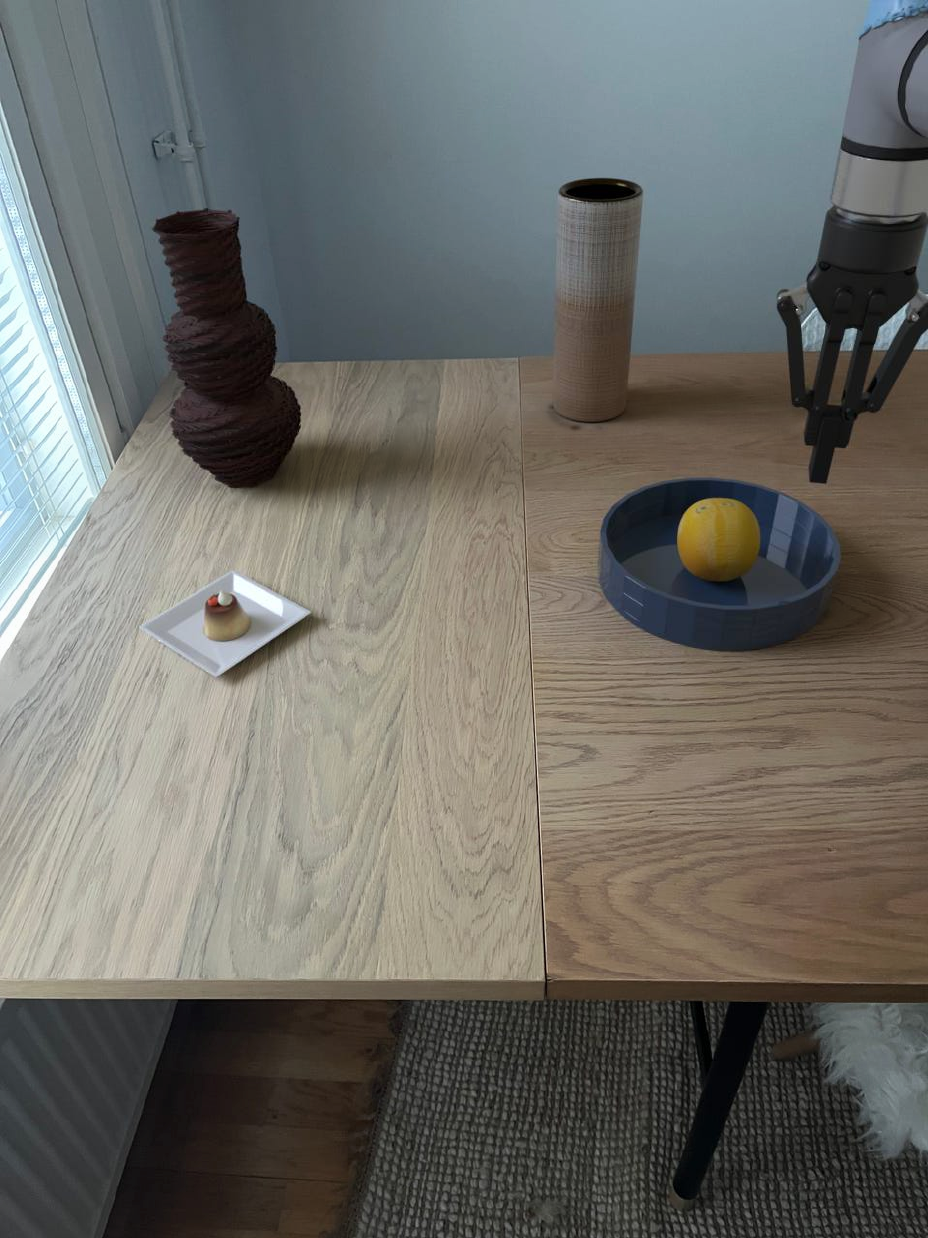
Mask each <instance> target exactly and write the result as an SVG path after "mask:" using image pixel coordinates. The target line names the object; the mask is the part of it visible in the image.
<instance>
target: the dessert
mask: <svg viewBox="0 0 928 1238" xmlns="http://www.w3.org/2000/svg"><path fill="white" fill-rule="evenodd" d="M311 612H312V611H310V610H309V609H307V608H305V607H303V606H301V605H299V604H298V603H297V602H294V601H292V600H290V599H289V598H287V597H285V596H284V595H281V594H279V593H278V592H276V591H275V590H272V589H270V588H268V587H266V586H265V585H263V584H261V583H259V582H258V581H255V580H254V579H252V578H250V577H248V576H246V575H244V574H242V573H241V572H239V571H237V570H235V569H232V570H230V571H228V572H226V573H225V574H223V575H221V576H220V577H218V578H216V579H214V580H213V581H212V582H210V583H209V584H207V585H205V586H203V587H202V588H200V589H198V590H196V591H195V592H194V593H192V594H190V595H189V596H187V597H185V598H184V599H182V600H181V601H178V602H177V603H175V604H174V605H172V606H171V607H169V608H167V609H166V610H164V611H162V612H161V613H159V614H158V615H155V616H154V617H153V618H151V619H149V620H147V621H146V622H144V623H143V624H141V625H140V626H138V628H139V629H140V630H141V631H143V632H144V633H146V634H148V635H149V636H151V637H152V638H154V639H156V640H157V641H159V642H161V644H163V645H164V646H166V647H168V648H169V649H171V650H173V651H174V652H176V653H178V655H180V656H181V657H183V658H185V659H187V660H188V661H189V662H191V663H193V664H195V665H196V667H197V666H198V667H199V668H200V669H202V670H204V671H205V672H207V673H208V674H210V675H211V676H213V677H214V678H217V677H219V676H221V675H222V674H224V673H225V672H227V671H228V670H230V669H231V668H233V667H235V666H236V665H237V664H238V663H240V662H242V661H243V660H244V659H246V658H248V657H249V656H251V655H252V654H253V653H255V652H256V651H258V650H259V649H260V648H262V647H263V646H265V645H267V643H270V641H272V640H273V639H275V638H277V637H278V636H280V635H281V634H283V633H284V632H285V631H286V630H288V629H289V628H292V627H293V626H294V625H296V624H297V623H298V622H300V621H301V620H303V619H304V618H306V617H307V616H308V615H310V614H311Z"/></svg>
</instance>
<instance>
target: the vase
mask: <svg viewBox="0 0 928 1238" xmlns="http://www.w3.org/2000/svg"><path fill="white" fill-rule="evenodd" d="M239 228H240V217H239V216H237V215H236V214H235V213H233V212H232V210H231V209H228V210H227V209H226V210H217V209H209V208H208V207H205V208H204V207H203V209H198V210H197V209H196V210H187V211H179V210H178V211H176V212H175V213H173V214H170V215H167V216H163V217H162V218H159V219H158V218H155V223H154V226H153V227H151V230H152V231H153V232H154V233H156V234H158V235H159V239H157V240H158V243H159V244H160V245H161V246H162V247H163V248H162V251H161V252H162V255H163V256H164V257H165V260H164V261H163V263H164V264H165V265H166V266H167V268H169V269H170V271H169V276H170V278H172V281H171V282H170V284H171V286H172V287H173V289H175V292H174V293H173V298H175V299H176V301H177V302H176V306H177V307H179V310H178V311H177V312H176V313H173V314H172V315H171V316H170V323H167V325H165V327H164V330H165V331H166V332H165V334H164V335H163V336H162V338H161V339H162V341H163V342H165V343H166V344H165V346H164V350H165V351H166V352H167V353H168V354H167V356H166V359H167V361H169V362H171V363H172V365H171V366H170V367H171V370H173V371H174V372H176V373H177V374H176V377H177V379H179V380H181V381H183V384H182V385H183V387H184V388H183V389H182V390H181V392H180V396H178V398H177V399H174V400H173V403H172V406H173V407H172V408H171V409H170V411H169V412H168V413H169V417H170V418H171V419H172V421H171V422H169V424H170V427H171V432H172V433H171V435H172V437H174V439H176V440H178V441H177V445H178V446H179V447H180V448H181V451H182V452H183V454H184V455H185V456H187V457H189V458H191V459H192V462H194V463H195V464H198V465H199V466H198V467H199V468H201V469H202V470H204V471H208V472H209V473H210V474H211V475H214V480H215V481H216V482H219V483H222V484H224V485H225V486H228V488H240V487H255V486H257V485H260V484H261V483H263V482H266V481H269V480H270V479H271V480H272V479H274V478H275V476H276V474H277V472H278V470H279V468H281V465H282V463H284V461H285V459H286V457H288V454H289V453H290V452H291V451H292V449H293V447H294V443H295V442H296V438H297V437H298V435H299V434H300V430H301V428H302V424H301V422H302V418H301V417H302V411H301V410H302V406H301V405H300V404H299V400H298V398H297V397H296V392H295V390H294V389H293V388H292V387H291V386H290V385H289V384H288V383H287V382H286V381H284V380H282V379H280V378H278V377H276V376H272V373H273V371H274V369H275V366H276V357H277V352H278V347H277V340H276V334H277V330H276V326H275V324H274V323H273V322H272V320H271V318H270V317H269V314H268V313H267V311H265V309H264V308H262V307H261V306H259V305H258V304H256V303H253V302H251V301H249V300H248V295H247V290H246V289H247V288H246V287H247V286H246V284H247V283H246V280H245V276H244V273H243V259H242V256H241V254H242V245H241V243H240V238H239V236H238V234H239V231H240V229H239Z"/></svg>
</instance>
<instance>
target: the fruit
mask: <svg viewBox="0 0 928 1238" xmlns="http://www.w3.org/2000/svg"><path fill="white" fill-rule="evenodd" d="M677 544H678V551H679V555H680V558H681V560H682V562H683V564H684V566H685V567H686V568H687V570H688V571H689V572H690V573H692V574H693V575H695V576H696V577H699V578H701V579H704V580H707V581H715V582H723V581H730V580H734V579H736V578H739V577H741V576H742V575H744V574H745V573H747V572H748V571H749V570H750V569H751V567H752V566H753V564H754V563H755V561H756V559H757V556H758V553H759V548H760V529H759V525H758V522H757V519H756V517H755V515H754V514H753V512H752V511H751V510H750V508H749V507H747V506H746V505H745V504H743V503H741V502H739V501H737V500H733V499H725V498H711V499H704V500H701V501H698V502H696V503H695V504H693V505H692V506H691V507H690V508H688V510H687V511H686V512H685V513H684V515H683V517H682V519H681V521H680V524H679V528H678V534H677Z"/></svg>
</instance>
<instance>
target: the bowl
mask: <svg viewBox="0 0 928 1238" xmlns="http://www.w3.org/2000/svg"><path fill="white" fill-rule="evenodd" d="M711 498H725V499H733V500H737V501H739V502H741V503H743V504H745V505H746V506H747V507H749V508H750V510H751V511H752V512H753V514H754V515H755V517H756V519H757V522H758V525H759V529H760V548H759V553H758V556H757V559H756V561H755V563H754V564H753V566H752V567H751V569H750V570H749V571H748V572H747V573H745V574H744V575H742V576H741V577H739V578H736V579H734V580H730V581H723V582H715V581H707V580H704V579H701V578H699V577H696V576H695V575H693V574H692V573H690V572H689V571H688V570H687V568H686V567H685V566H684V564H683V562H682V560H681V558H680V555H679V551H678V544H677V534H678V528H679V524H680V521H681V519H682V517H683V515H684V513H685V512H686V511H687V510H688V508H690V507H691V506H692V505H693V504H695V503H696V502H698V501H701V500H704V499H711ZM599 530H600V531H599V542H598V557H597V559H598V560H597V568H598V569H597V575H598V583H599V586H600V589H601V591H602V593H603V595H604V596H605V599H606V600H607V601H608V602H609V604H610V605H611V607H612V608H613V609H614V610H615V611H617V612H618V613H619V614H620V616H621V617H623V618H624V619H625V620H627V621H628V622H630V623H631V624H632V625H634V626H636V627H638V628H639V629H641V630H643V631H644V632H647V633H649V634H651V635H653V636H655V637H658V638H660V639H663V640H665V641H669V642H671V643H675V644H679V645H682V646H686V647H690V648H696V649H702V650H711V651H721V652H726V651H727V652H739V651H740V652H741V651H742V652H743V651H753V650H760V649H766V648H770V647H774V646H779V645H781V644H784V643H787V642H789V641H792V640H795V639H797V638H798V637H800V636H802V635H804V634H805V633H807V632H808V631H809V630H811V629H812V628H813V627H814V626H816V625H817V624H818V623H819V621H820V620H821V619H822V618H823V616H824V615H825V613H826V611H827V609H828V607H829V603H830V600H831V597H832V593H833V591H834V586H835V584H836V579H837V576H838V572H839V567H840V565H841V561H842V555H841V554H842V553H841V543H840V541H839V539H838V537H837V535H836V532H835V531H834V529H833V527H832V526H831V525H830V524H829V523H828V522H827V521H826V520H825V519H824V517H823V516H822V515H821V514H820V513H819V512H817V511H816V510H814V509H813V508H812V507H810V506H809V505H807V504H806V503H804V502H803V501H801V500H798V499H797V498H795V497H793V496H791V495H788V494H786V493H785V492H782V491H780V490H777V489H775V488H774V489H773V488H771V487H767V486H765V485H762V484H758V483H753V482H748V481H744V480H739V479H733V478H732V479H731V478H724V477H723V478H722V477H712V476H711V477H708V476H706V477H705V476H703V477H683V478H682V477H681V478H675V479H669V480H662V481H658V482H655V483H652V484H648V485H644V486H642V487H640V488H638V489H635V490H633V491H631V492H629V493H627V494H626V495H624V496H623V497H621V498H620V499H618V501H617V502H615V503H613V505H612V506H611V507H610V508H609V510H608V511H607V512H606V514H605V515H604V517H603V519H602V523H601V527H600V529H599Z"/></svg>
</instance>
